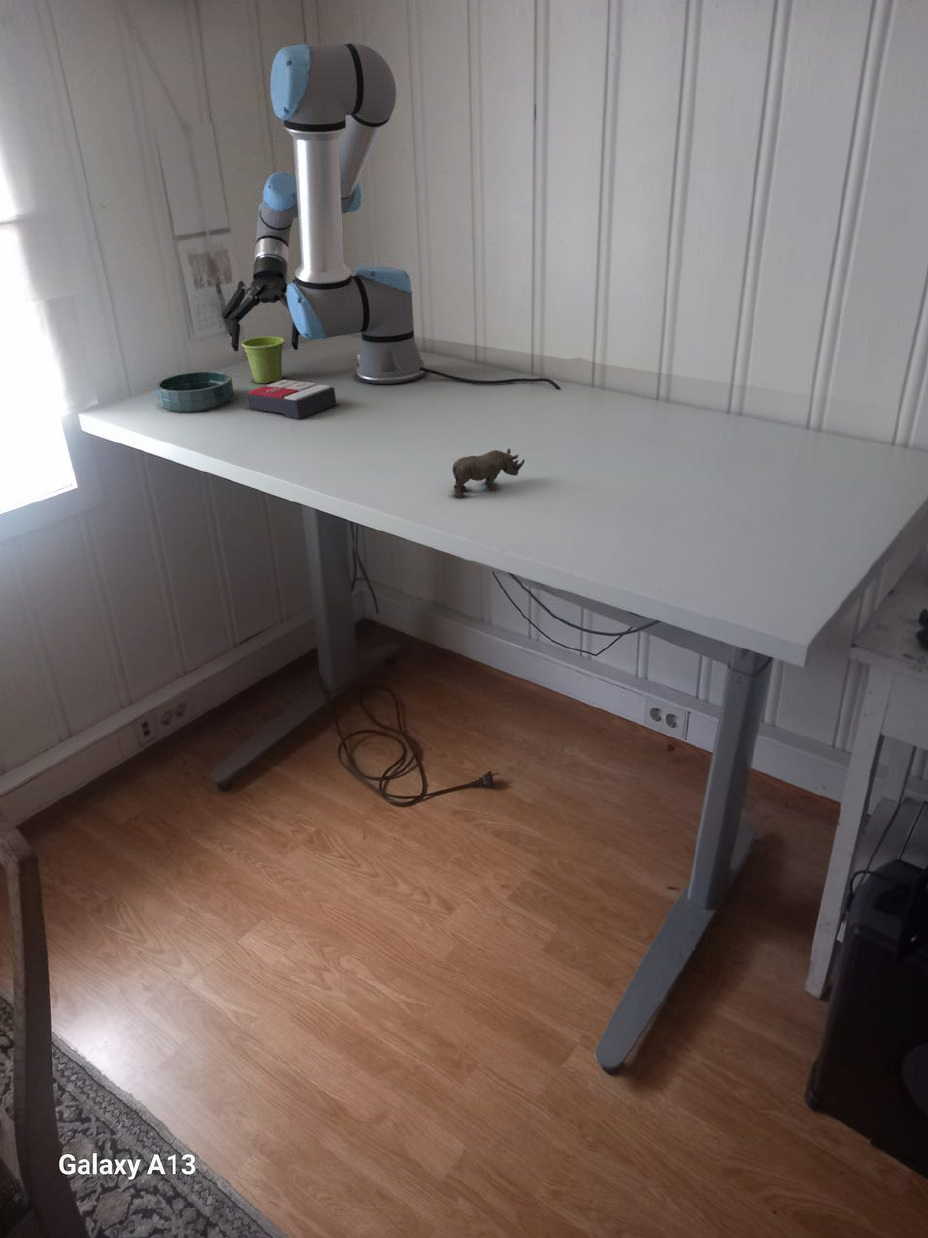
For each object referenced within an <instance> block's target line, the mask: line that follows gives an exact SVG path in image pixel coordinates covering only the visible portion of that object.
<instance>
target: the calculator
mask: <svg viewBox="0 0 928 1238" xmlns="http://www.w3.org/2000/svg"><path fill="white" fill-rule="evenodd" d="M246 400H247V406H248V409H250V410H257V411H263V412H268V413H269V412H270V413H276V414H283V415H284V416H285V417H287V418H291V419H298V420H299V419H302V418H306V417H309V416H310V415H313V414H316V413H319V412H321V411H323V410H326V409H329V408H332V407H334V406H336V405H337V398H336V392H335V387H333V386H332V385H324V384H317V383H315V382H306V381H299V380H289V379H281V380H279V381H277V382H272V383H270V384H267V385H264V386H261V387H258V388H255V389H252V390H249V391H248V393H247V394H246Z"/></svg>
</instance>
